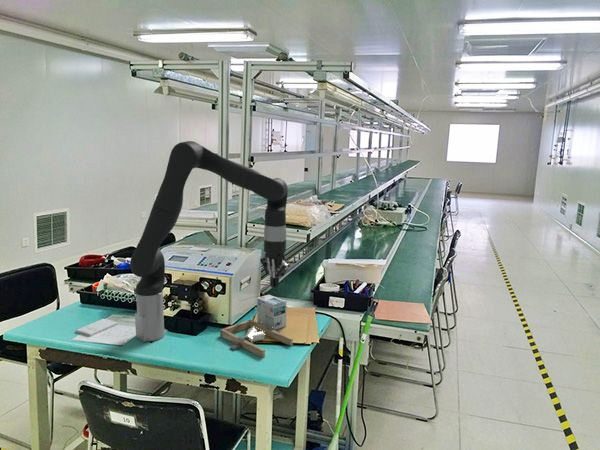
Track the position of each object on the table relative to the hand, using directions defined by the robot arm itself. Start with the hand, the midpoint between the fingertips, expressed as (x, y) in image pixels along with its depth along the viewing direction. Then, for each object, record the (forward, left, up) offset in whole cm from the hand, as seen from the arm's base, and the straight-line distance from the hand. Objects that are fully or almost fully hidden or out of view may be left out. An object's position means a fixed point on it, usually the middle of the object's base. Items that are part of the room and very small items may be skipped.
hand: (274, 287), depth 160 cm
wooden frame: (0, +10, -23) cm, 25 cm away
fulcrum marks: (0, +10, -23) cm, 25 cm away
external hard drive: (-37, +60, -24) cm, 74 cm away
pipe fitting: (-1, +10, -23) cm, 25 cm away
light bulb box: (+14, +17, -23) cm, 32 cm away
